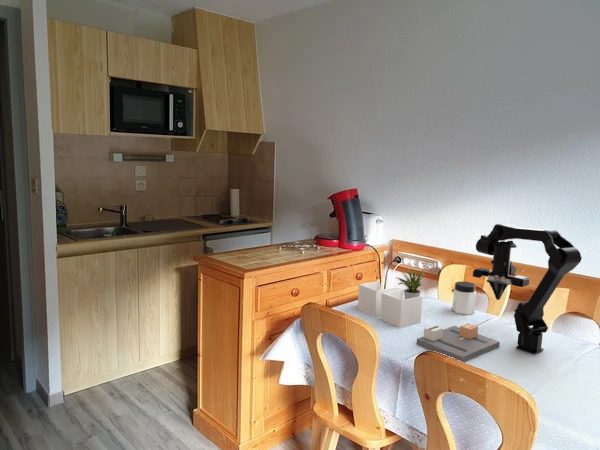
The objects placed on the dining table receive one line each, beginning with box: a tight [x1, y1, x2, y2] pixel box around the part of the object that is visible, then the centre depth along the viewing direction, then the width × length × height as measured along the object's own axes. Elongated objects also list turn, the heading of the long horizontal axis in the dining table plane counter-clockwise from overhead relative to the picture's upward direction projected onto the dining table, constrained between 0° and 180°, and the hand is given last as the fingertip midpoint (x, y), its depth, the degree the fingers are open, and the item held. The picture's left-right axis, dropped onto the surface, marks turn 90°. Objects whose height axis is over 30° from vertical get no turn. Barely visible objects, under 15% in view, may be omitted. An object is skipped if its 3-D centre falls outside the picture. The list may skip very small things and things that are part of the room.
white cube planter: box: [357, 280, 423, 329], centre depth 188 cm, size 25×11×11 cm, turn 33°
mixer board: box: [416, 325, 501, 363], centre depth 160 cm, size 18×22×2 cm
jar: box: [451, 281, 477, 316], centre depth 196 cm, size 9×8×12 cm
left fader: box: [423, 324, 444, 341], centre depth 161 cm, size 4×5×4 cm
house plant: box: [394, 267, 427, 300], centre depth 204 cm, size 14×14×16 cm
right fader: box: [459, 323, 479, 339], centre depth 163 cm, size 4×5×4 cm
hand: (498, 299), depth 171 cm, fingers closed
